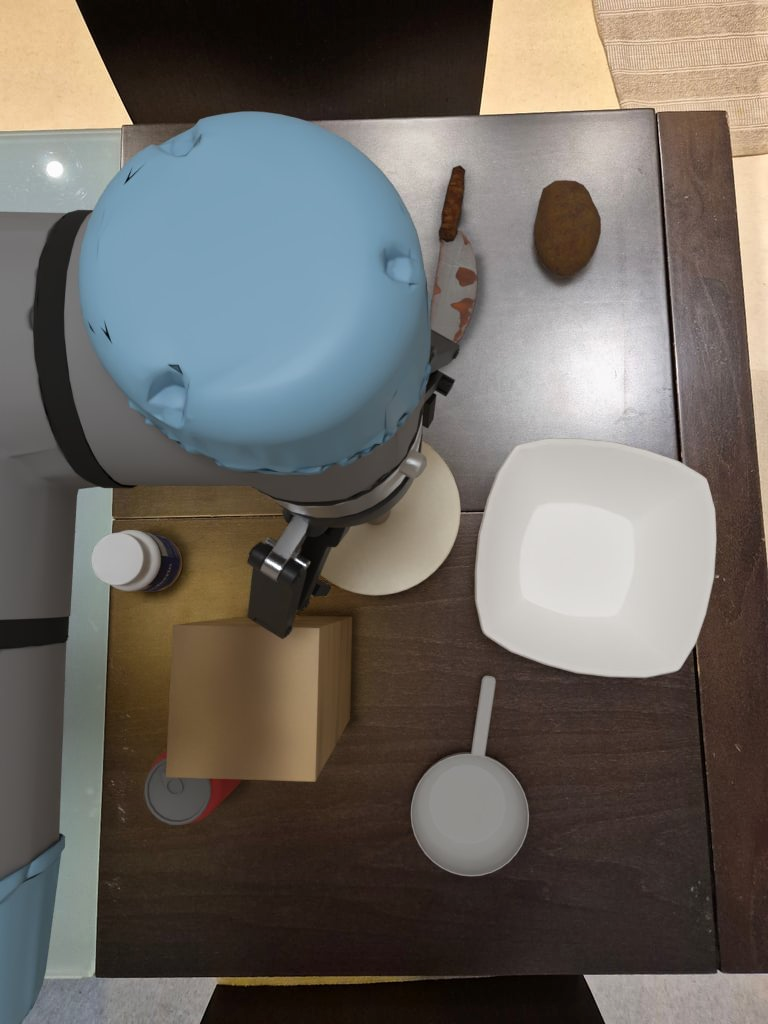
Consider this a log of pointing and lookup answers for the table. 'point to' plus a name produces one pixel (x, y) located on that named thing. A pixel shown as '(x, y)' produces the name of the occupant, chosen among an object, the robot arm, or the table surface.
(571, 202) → the potato
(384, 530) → the lid
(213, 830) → the table surface
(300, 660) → the stand
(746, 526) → the table surface
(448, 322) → the kitchen knife
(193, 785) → the beer can
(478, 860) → the small pan
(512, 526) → the bowl
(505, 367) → the table surface
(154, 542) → the pill bottle
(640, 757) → the table surface
